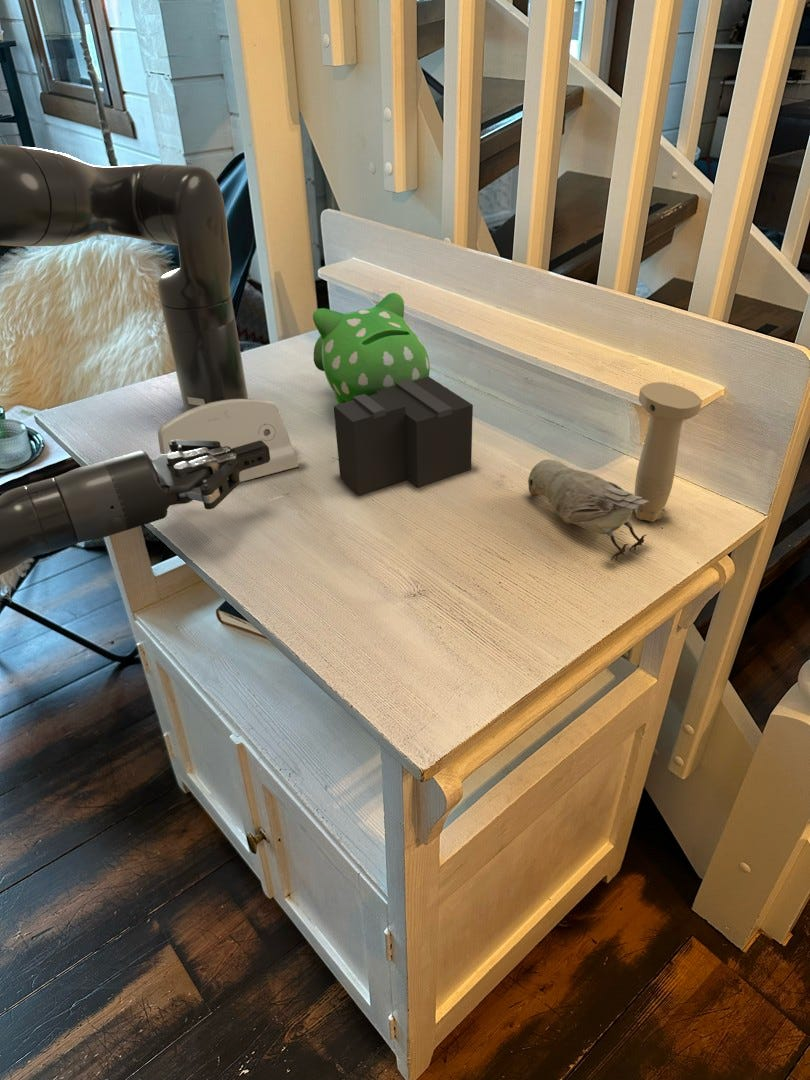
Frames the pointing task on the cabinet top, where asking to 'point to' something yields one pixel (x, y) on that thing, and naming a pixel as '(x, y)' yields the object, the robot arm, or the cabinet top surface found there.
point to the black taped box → (434, 429)
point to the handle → (661, 444)
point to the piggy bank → (368, 349)
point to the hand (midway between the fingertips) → (266, 450)
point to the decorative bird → (585, 499)
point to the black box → (371, 442)
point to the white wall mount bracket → (235, 431)
